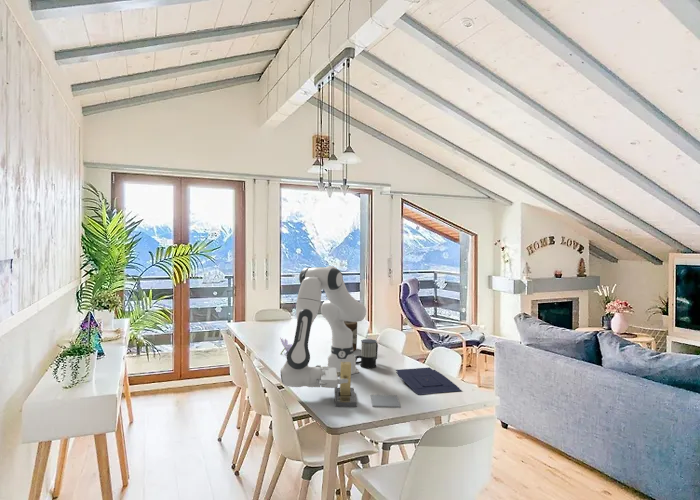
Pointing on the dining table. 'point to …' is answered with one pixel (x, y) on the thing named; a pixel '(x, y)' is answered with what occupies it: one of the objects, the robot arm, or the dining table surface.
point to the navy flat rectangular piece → (426, 381)
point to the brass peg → (345, 373)
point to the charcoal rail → (345, 399)
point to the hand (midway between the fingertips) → (347, 377)
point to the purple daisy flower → (286, 345)
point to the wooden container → (353, 328)
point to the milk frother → (368, 353)
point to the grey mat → (385, 401)
